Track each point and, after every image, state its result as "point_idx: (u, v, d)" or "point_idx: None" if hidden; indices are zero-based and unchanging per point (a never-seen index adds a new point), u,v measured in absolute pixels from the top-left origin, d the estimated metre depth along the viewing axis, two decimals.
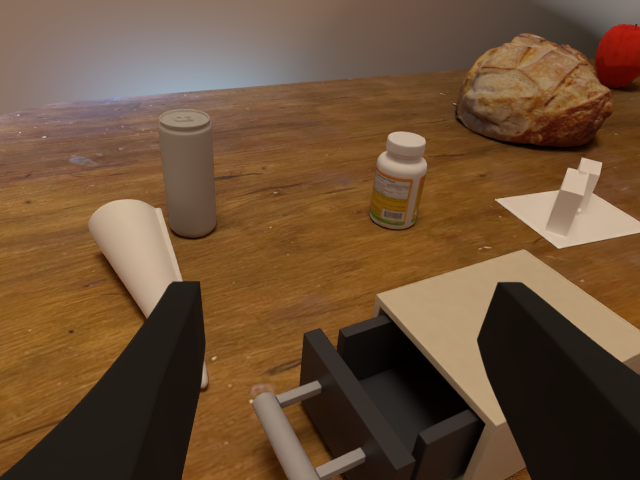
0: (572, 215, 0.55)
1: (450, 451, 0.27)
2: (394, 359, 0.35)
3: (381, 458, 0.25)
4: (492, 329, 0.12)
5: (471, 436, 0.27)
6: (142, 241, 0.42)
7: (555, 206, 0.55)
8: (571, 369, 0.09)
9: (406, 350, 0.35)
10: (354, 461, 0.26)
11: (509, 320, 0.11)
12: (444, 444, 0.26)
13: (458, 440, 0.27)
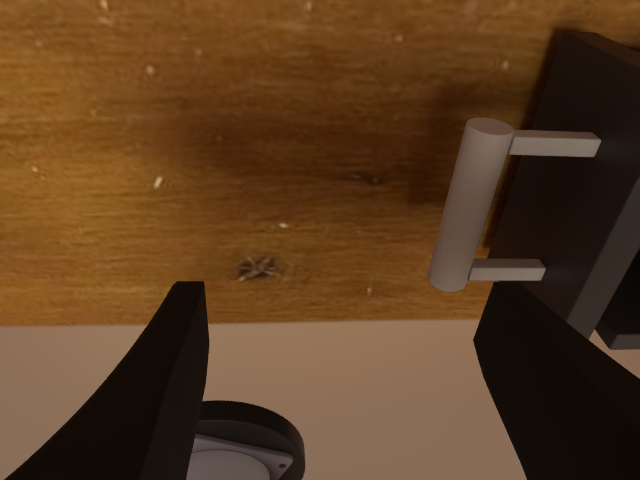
0: None
1: None
2: None
3: None
4: (488, 329, 0.12)
5: None
6: None
7: None
8: (566, 369, 0.09)
9: None
10: (522, 279, 0.18)
11: (505, 320, 0.11)
12: None
13: None
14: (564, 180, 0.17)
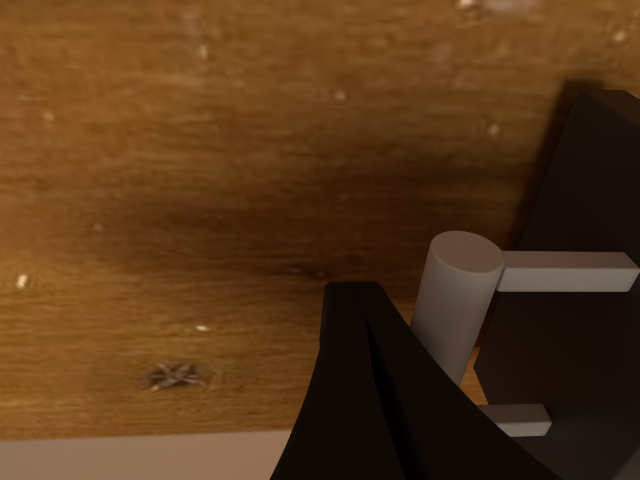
0: None
1: None
2: None
3: None
4: None
5: None
6: None
7: None
8: (386, 372, 0.09)
9: None
10: (518, 435, 0.13)
11: None
12: None
13: None
14: (580, 307, 0.12)
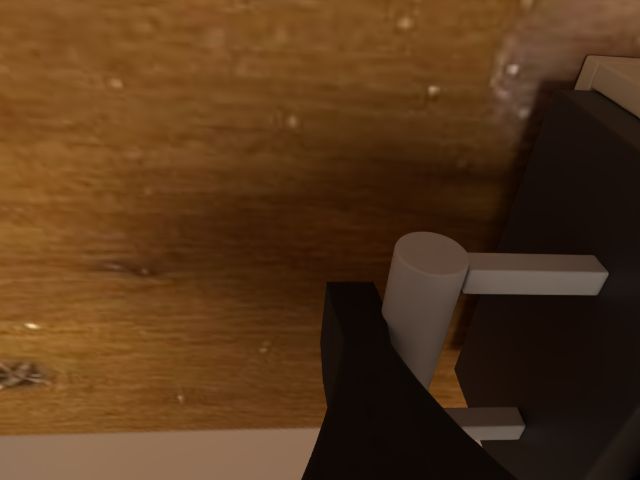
0: None
1: None
2: None
3: None
4: (324, 330, 0.12)
5: None
6: None
7: None
8: None
9: None
10: (492, 438, 0.13)
11: (329, 321, 0.11)
12: None
13: None
14: (552, 310, 0.11)
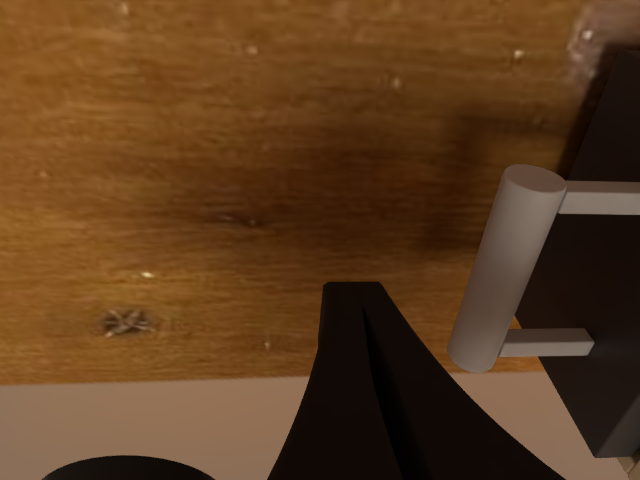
0: None
1: None
2: None
3: (597, 418, 0.14)
4: None
5: None
6: None
7: None
8: (388, 372, 0.09)
9: None
10: (564, 354, 0.15)
11: None
12: None
13: None
14: (621, 237, 0.13)
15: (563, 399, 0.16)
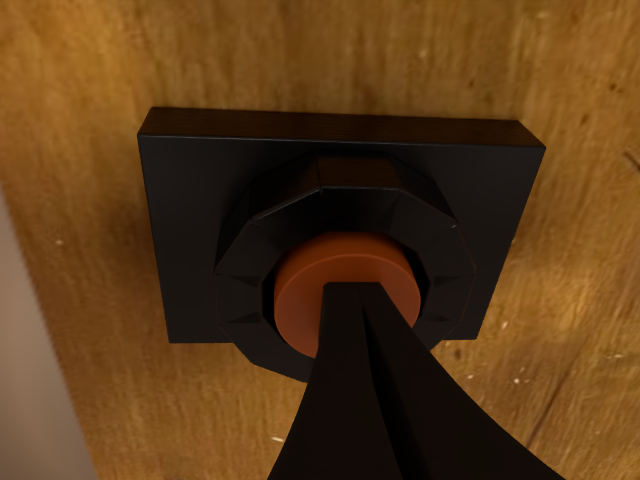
0: None
1: None
2: None
3: None
4: None
5: None
6: None
7: None
8: (388, 372, 0.09)
9: None
10: None
11: None
12: None
13: None
14: None
15: None
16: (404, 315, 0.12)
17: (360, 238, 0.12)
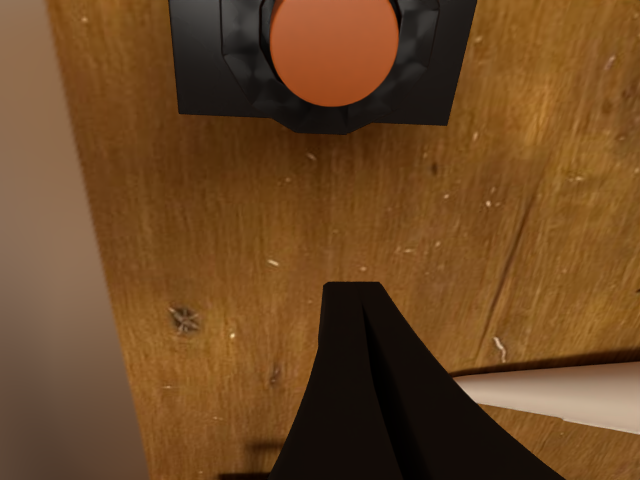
0: None
1: None
2: None
3: None
4: None
5: None
6: None
7: None
8: (388, 372, 0.09)
9: None
10: None
11: None
12: None
13: None
14: None
15: None
16: (384, 50, 0.14)
17: None
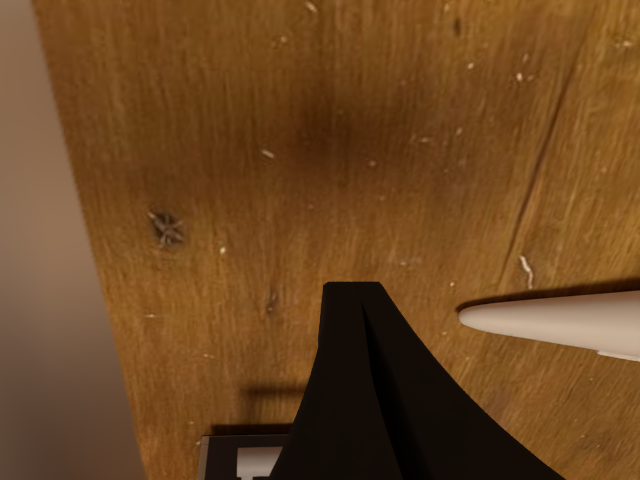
0: None
1: None
2: None
3: None
4: None
5: None
6: None
7: None
8: (388, 372, 0.09)
9: None
10: None
11: None
12: None
13: None
14: None
15: None
16: None
17: None
